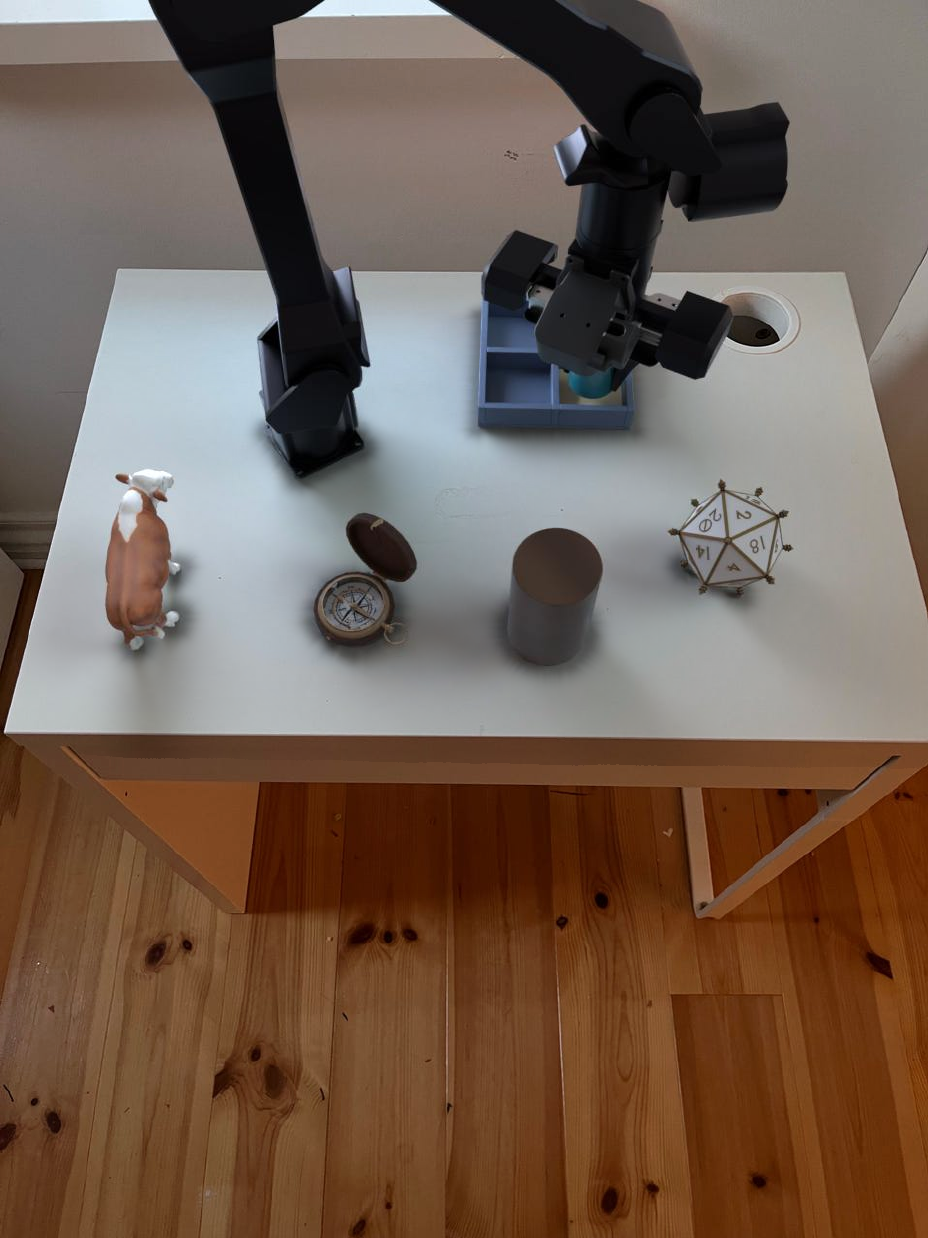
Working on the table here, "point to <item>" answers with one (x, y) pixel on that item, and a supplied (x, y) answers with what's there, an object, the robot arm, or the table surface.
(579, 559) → the stand
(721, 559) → the game die
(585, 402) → the grid
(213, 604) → the table surface
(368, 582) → the compass
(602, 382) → the cylinder
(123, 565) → the bull figurine
